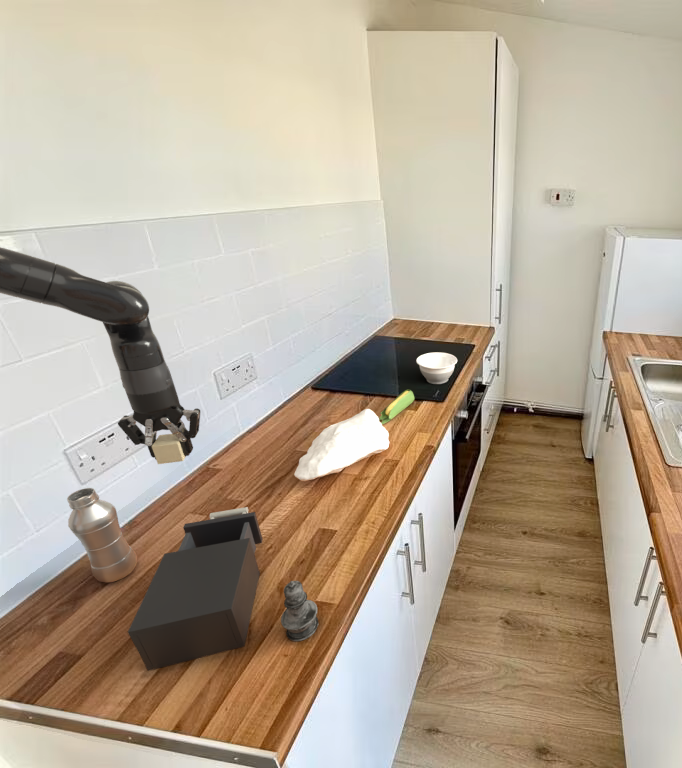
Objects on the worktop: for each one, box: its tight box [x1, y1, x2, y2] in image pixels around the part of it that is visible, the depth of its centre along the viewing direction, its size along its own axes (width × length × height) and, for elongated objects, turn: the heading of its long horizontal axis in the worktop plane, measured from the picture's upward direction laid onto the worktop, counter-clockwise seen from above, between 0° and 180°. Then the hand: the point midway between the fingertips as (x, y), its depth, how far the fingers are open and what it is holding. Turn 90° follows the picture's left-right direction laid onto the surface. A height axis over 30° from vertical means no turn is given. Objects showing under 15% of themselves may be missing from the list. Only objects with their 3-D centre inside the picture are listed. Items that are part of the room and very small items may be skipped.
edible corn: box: [379, 389, 415, 425], centre depth 148 cm, size 5×20×5 cm, turn 163°
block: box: [152, 433, 187, 465], centre depth 92 cm, size 4×4×4 cm
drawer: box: [177, 506, 264, 556], centre depth 87 cm, size 20×13×8 cm, turn 19°
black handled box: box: [127, 538, 261, 672], centre depth 77 cm, size 16×14×10 cm
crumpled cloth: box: [293, 408, 390, 482], centre depth 122 cm, size 24×35×9 cm
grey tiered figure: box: [280, 580, 319, 642], centre depth 75 cm, size 6×6×12 cm
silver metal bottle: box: [66, 487, 138, 584], centre depth 82 cm, size 6×7×20 cm
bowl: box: [415, 351, 458, 385], centre depth 171 cm, size 16×16×8 cm
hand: (173, 455), depth 93 cm, fingers closed on block, 4 cm apart
